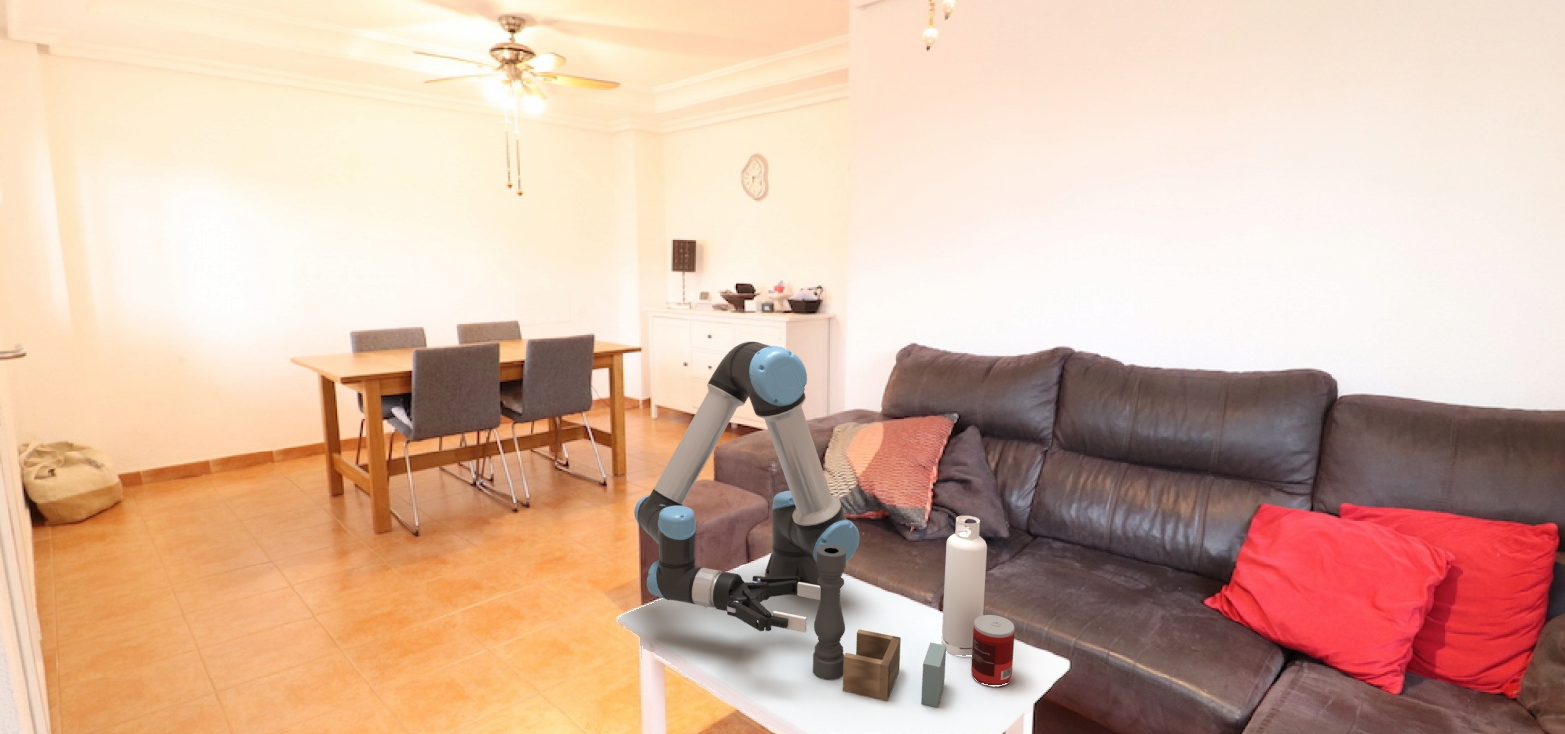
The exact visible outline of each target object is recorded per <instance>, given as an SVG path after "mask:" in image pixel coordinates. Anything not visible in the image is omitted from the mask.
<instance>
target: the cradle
mask: <svg viewBox="0 0 1565 734" xmlns="http://www.w3.org/2000/svg"><path fill="white" fill-rule="evenodd" d="M901 640H902V639H901V637H899V636H895V635H889V634H886V633H880V632H875V631H870V630H864V629H859V628H858V630H857V632H856V648H855V650H856V651H855V654H854V653H849V652H845V653H844V662H843V676H842V692H845V693H849V694H853V695H858V696H861V697H868V698H871V699H877V700H880V701H885V702H888V701H889V697H890V694H891V692H892V690H893V687H894V685H895V683H896V680H897V678H898V674H899V672H900V664H901V663H900V661H901V659H900V658H901Z"/></svg>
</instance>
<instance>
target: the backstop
mask: <svg viewBox="0 0 1565 734" xmlns="http://www.w3.org/2000/svg"><path fill="white" fill-rule="evenodd" d="M946 655H947V652H946V645H942V643H934V642H929V645H928V648H927V651H926V654H925V657H924V659H923V662H922V663H923V664H922V679H921V680H922V681H921V697H920V699H921V701H920V704H921V705H923V706H928V707H933V708H937V709H938V708H939V704H940V701H941V697H942V694H943V690H944V687H945V678H946V676H945V675H946Z"/></svg>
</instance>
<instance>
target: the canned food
mask: <svg viewBox="0 0 1565 734" xmlns="http://www.w3.org/2000/svg"><path fill="white" fill-rule="evenodd" d="M1015 632H1016V631H1015V624H1014V623H1013V622H1012V621H1011V620H1009V619H1008V618H1006V617H1003V616H1000V615H994V614H983V616H979V617H977V618H976V619H975V621H974V628H973V646H972V648H971V649H972V657H971V665H970V666H971V669H970V671H971V675H972V677H974V678H975V679H976V680H977V681H978V683H979V682H980V683H979V684H981V683H984V684H988V685H1002V684H1005V683H1008V682H1009V681H1010V682H1011V679H1012V674H1013V662H1014V661H1013V659H1014V646H1015ZM974 678H973V679H974ZM975 679H974V680H975ZM976 680H975V681H976ZM977 681H976V682H977ZM1010 682H1009V683H1010ZM1009 683H1008V684H1009Z"/></svg>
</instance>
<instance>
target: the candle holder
mask: <svg viewBox="0 0 1565 734" xmlns="http://www.w3.org/2000/svg"><path fill="white" fill-rule="evenodd" d="M817 568H818V572H819V573H820V577H819V578H818V579H817V582H818V585H819V586H820V587H821V596H820V600H819V604H818V608H817V612H816V615H815V619H814V622H813V631H814V633H815V635H816V637H817V641H818V642H817V643H816V644H815V645H814V652H813V654H812V655H813V656H812V660H813V661H812V673H813V675H814V676H815V677H817V678H818V679H821V680H824V681H835V680H839V679H840V678H843V662H844V655H845V653H844V647H843V645H842V643H840V642H841V639H842V637H843V635H844V634H845V631H846V623H845V619H844V614H843V611H842V610H843V609H842V606H841V589H842V588H843V586H844V585H845V579H844V578H843V577H842V576H843V574H844V572H845V569H846V568H847V563H846V550H845V549H844V548H843V547H840V546H836V545H824V546H821V547H819V548H818V549H817Z"/></svg>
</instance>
